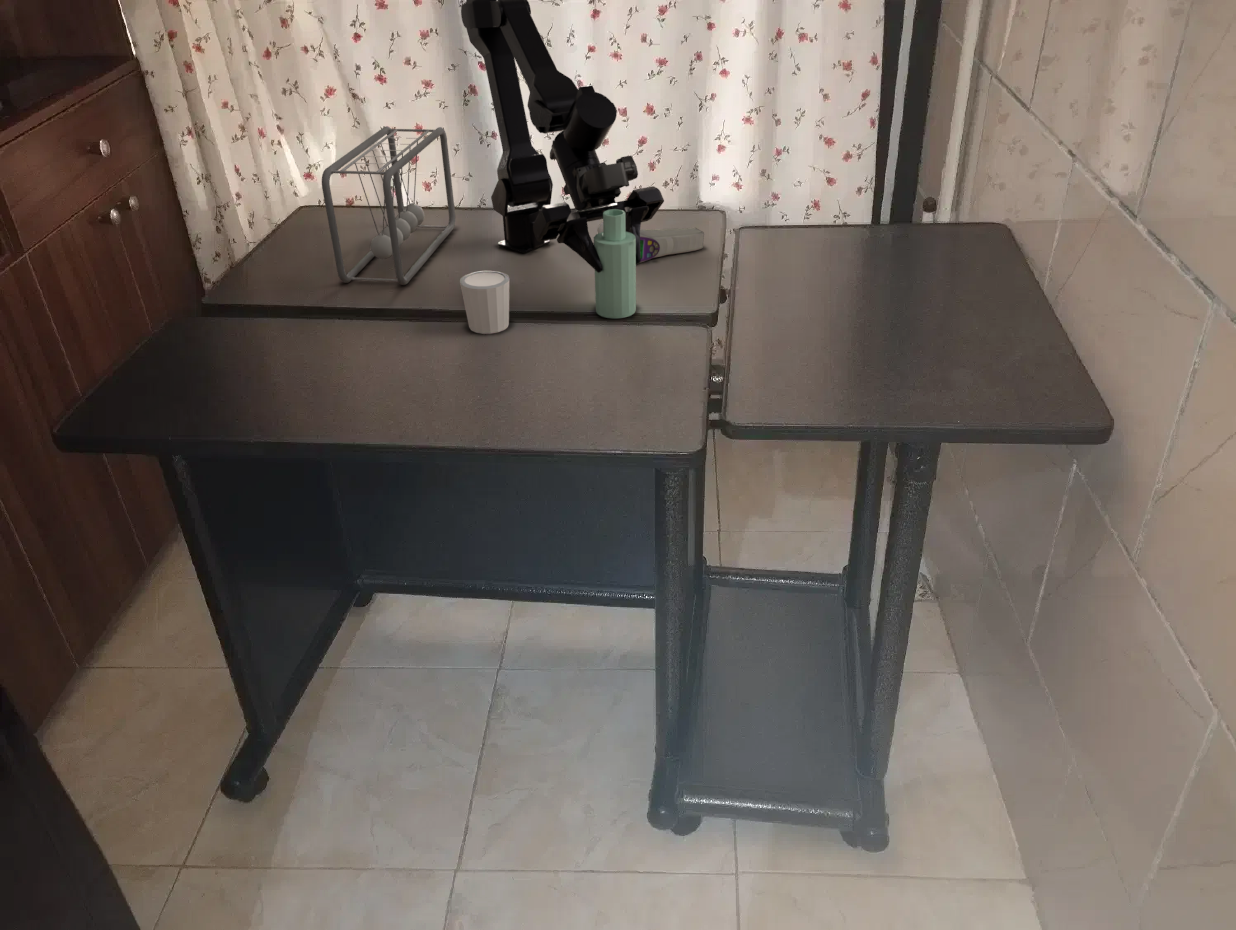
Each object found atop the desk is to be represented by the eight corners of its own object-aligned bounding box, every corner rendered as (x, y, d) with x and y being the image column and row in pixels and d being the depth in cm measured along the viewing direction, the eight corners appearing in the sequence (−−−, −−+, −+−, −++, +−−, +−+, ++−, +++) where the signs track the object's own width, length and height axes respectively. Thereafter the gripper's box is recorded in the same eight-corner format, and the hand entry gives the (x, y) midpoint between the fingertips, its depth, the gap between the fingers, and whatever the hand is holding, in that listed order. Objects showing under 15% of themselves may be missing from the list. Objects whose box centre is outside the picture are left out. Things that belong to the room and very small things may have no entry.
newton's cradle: (403, 290, 147) (387, 174, 138) (339, 287, 149) (317, 172, 139) (457, 226, 172) (446, 124, 163) (401, 224, 174) (387, 123, 164)
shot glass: (504, 337, 132) (500, 289, 129) (457, 333, 134) (452, 286, 130) (519, 317, 138) (515, 271, 134) (473, 314, 139) (469, 268, 135)
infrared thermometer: (706, 256, 160) (627, 266, 154) (669, 234, 169) (593, 243, 163) (708, 229, 158) (628, 238, 152) (671, 209, 167) (594, 217, 161)
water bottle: (587, 312, 139) (584, 214, 132) (613, 299, 143) (611, 203, 135) (618, 322, 136) (617, 222, 128) (643, 308, 140) (643, 211, 132)
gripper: (536, 146, 126) (577, 252, 124) (658, 128, 133) (698, 227, 131) (516, 191, 136) (553, 289, 134) (630, 171, 144) (667, 264, 141)
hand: (619, 267), depth 135 cm, fingers closed on water bottle, 6 cm apart
